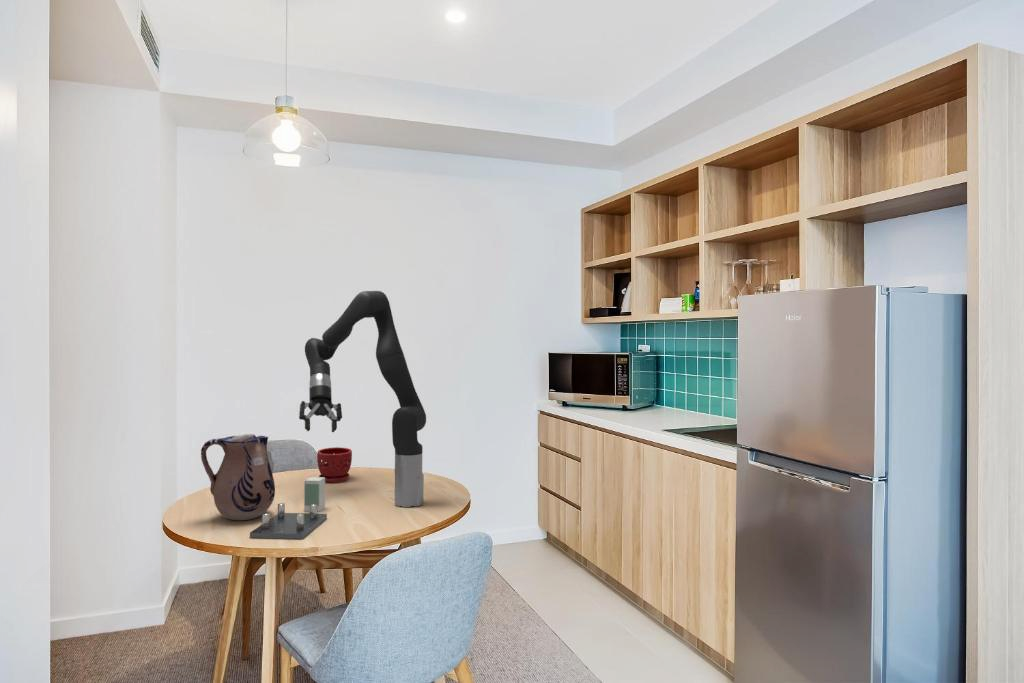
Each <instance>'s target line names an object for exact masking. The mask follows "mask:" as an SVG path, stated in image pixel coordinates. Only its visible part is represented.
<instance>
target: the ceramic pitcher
mask: <svg viewBox="0 0 1024 683" xmlns="http://www.w3.org/2000/svg"><path fill="white" fill-rule="evenodd" d="M268 441H269V436H265V435H258V436H256V434H254V433H253V434H251V433H250V434H240V435H239V434H238V435H230V436H226V437H222V438H220V437H219V438H218V437H215V438H211V439H209V440H208V441H205V443H204V444H203V445H202V447H201V449H200V458H201V462H202V465H203V467H204V470H205V473H206V474H207V476H208V478H209V481H210V493H211V495H212V497H213V500H214V502H213V503H214V505H215V507H216V509H217V511H218V512H219V513H220V514H221V515H222V516H223V517H225V518H226V519H229V520H230V519H231V521H247V520H253V519H256V518H259V517H262V514H263V513H267V511H268V510H269V509H270V507H271V506H272V504H273V502H274V499H275V496H276V485H275V479H274V475H273V474H272V470H271V467H270V463H269V459H268V455H267V451H268V449H267V448H268V446H267V444H268ZM213 445H218V446H220V447H221V448H222V451H223V452H224V456H223V458H222V462H221V463H220V465H219V469H218V470H217V472H216V474H215V473H214V471H213V468H212V467H211V465H210V464H209V461H208V457H207V452H208V449H209V448H210V447H211V446H213Z"/></svg>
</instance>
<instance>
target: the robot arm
mask: <svg viewBox="0 0 1024 683" xmlns="http://www.w3.org/2000/svg"><path fill="white" fill-rule="evenodd" d="M365 318H368V319H370V318H374V321H375V324H376V328H377V332H378V336H377V343H376V349H375V357H376V362H377V363H378V364H377V365H378V367H379V370H380V373H381V375H382V377H383V379H384V380H385V381H386V383H387V384H388V385H389V387H390V388H391V389H392V391H393V392H394V393H395V396H396V398H397V400H398V403H399V408H397V409H396V410H395V411H394V413H393V415H392V419H391V434H392V445H393V448H394V497H393V499H394V505H395V506H396V505H397V506H396V507H400V506H402V507H401V508H411V506H414V507H421V506H422V504H423V503H424V484H425V483H424V478H425V477H424V473H423V445H422V443H420V442H419V440H418V432H419V431H421V430H422V429H424V428H425V426H426V424H427V414H426V412H425V409H424V407H423V404H422V401H421V400H420V397H419V395H418V393H417V390H416V388H415V385H414V382H413V380H412V376H411V374H410V371H409V366H408V364H407V360H406V358H405V354H404V351H403V349H402V346H401V343H400V340H399V337H398V333H397V330H396V326H395V322H394V318H393V314H392V310H391V304H390V300H389V299H388V297H387V295H386V294H385V293H384V292H383V291H382V290H364V291H360V292H358V293H357V294H356V295H355V297H354V298H353V299H352V301H351V302H350V303H349V305H348V306H347V307H346V308H345V310H344V311H343V313H342V314H341V316H339V318H338V319H337V320H336V321H335V322H334V323H333V324H332V325H331V326H329V327H328V328H327V329H326V330H325V331H324V332H323V333H322V337H321V339H320V338H316V337H311V338H309V339H307V341H306V342H305V345H304V354H305V357H306V362H307V364H308V366H309V383H308V384H309V385H308V386H309V387H308V389H309V394H308V395H309V399H308V400H309V402H306V401H304V400H302V401H301V402H300V404H299V414H298V419H299V420H300V421H301V420H302V421H304V429H305V430H306V432H310V430H311V418H313V416H316V417H319V416H321V417H325V416H326V417H327V418H328V419H330V421H331V433H335V431H337V429H338V423H337V422H340V421H341V420H342V419H343V412H342V404H341V402H338V403H337V404H333V401H332V381H331V380H332V379H331V366H330V363H328V360H330V359H332V358H333V357H334V355H335V353H336V351H337V349H338V348H339V346H340V345H341V344H342V343H344V342H345V341H346V340H347V339H348V338H349V336H351V334H352V331H353V328H354V326H355V325H356V324H357V323H358V322H359V321H362V320H363V319H365ZM307 408H308V409H309V410H310V411H309V412H308V413H307V414H305V410H306V409H307ZM332 409H334V410H332ZM334 411H336V415H335V413H334ZM422 502H423V503H422ZM420 505H421V506H420Z"/></svg>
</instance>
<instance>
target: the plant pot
mask: <svg viewBox="0 0 1024 683" xmlns="http://www.w3.org/2000/svg"><path fill="white" fill-rule="evenodd" d="M316 455H317V456H316V457H317V461H316V462H317V468H318V471H319V476H318V477H325V483H328V482H337V483H341V482H345V481H347V480H348V479H349V478H350V473H349V471H350V469H351V466H352V459H353V450H352V449H351V448H347V447H340V446H338V447H337V446H336V447H326V448H321V449H319V450H318V451H317V454H316Z"/></svg>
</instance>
